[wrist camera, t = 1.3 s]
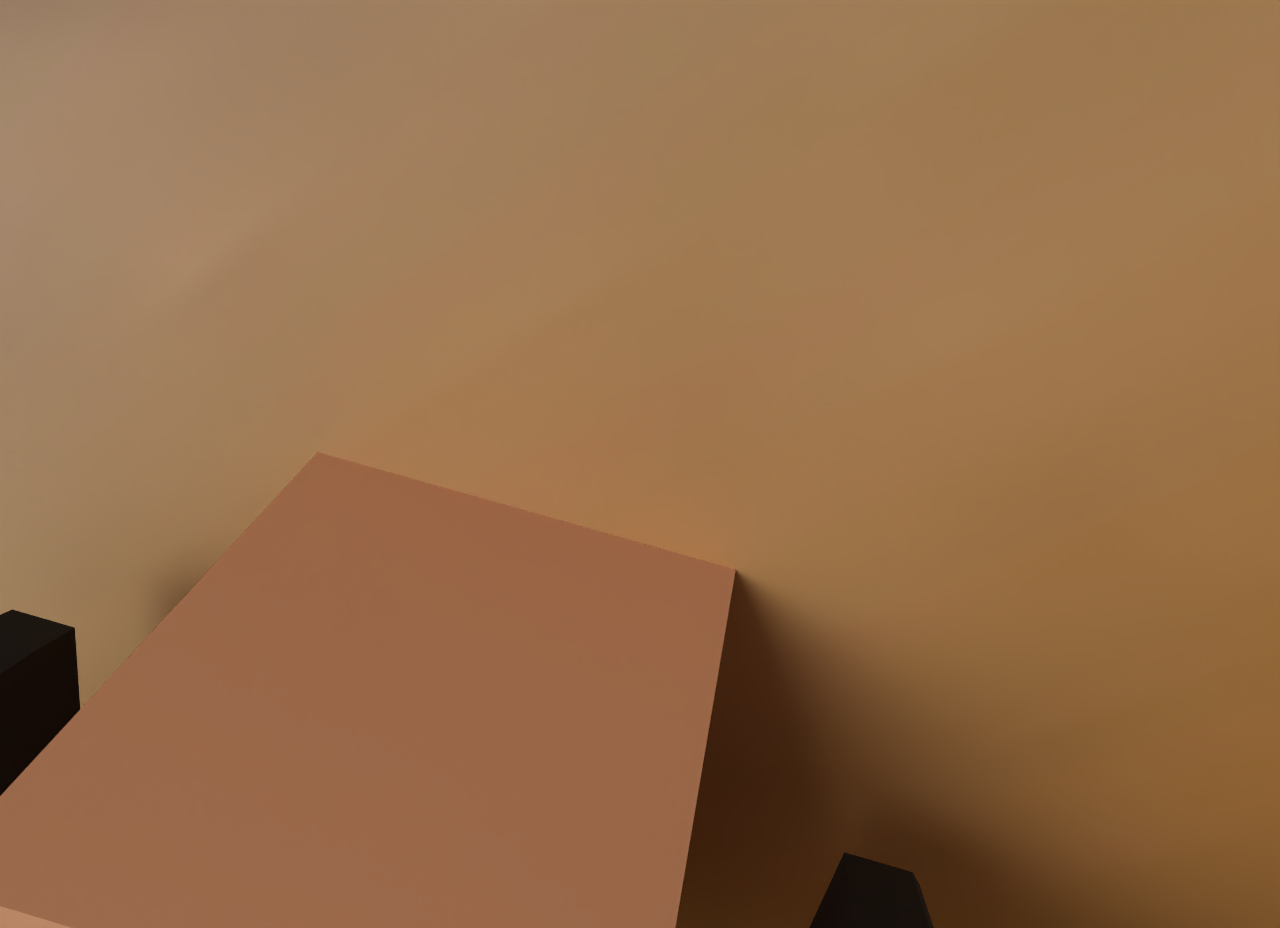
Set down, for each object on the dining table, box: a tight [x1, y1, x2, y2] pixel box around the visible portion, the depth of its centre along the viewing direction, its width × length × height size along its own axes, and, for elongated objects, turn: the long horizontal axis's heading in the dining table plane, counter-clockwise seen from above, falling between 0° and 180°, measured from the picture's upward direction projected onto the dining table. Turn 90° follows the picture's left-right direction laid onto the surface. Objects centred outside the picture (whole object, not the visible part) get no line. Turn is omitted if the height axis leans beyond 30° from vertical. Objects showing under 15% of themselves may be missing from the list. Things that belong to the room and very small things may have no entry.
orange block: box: [0, 452, 736, 928], centre depth 9 cm, size 4×5×5 cm
